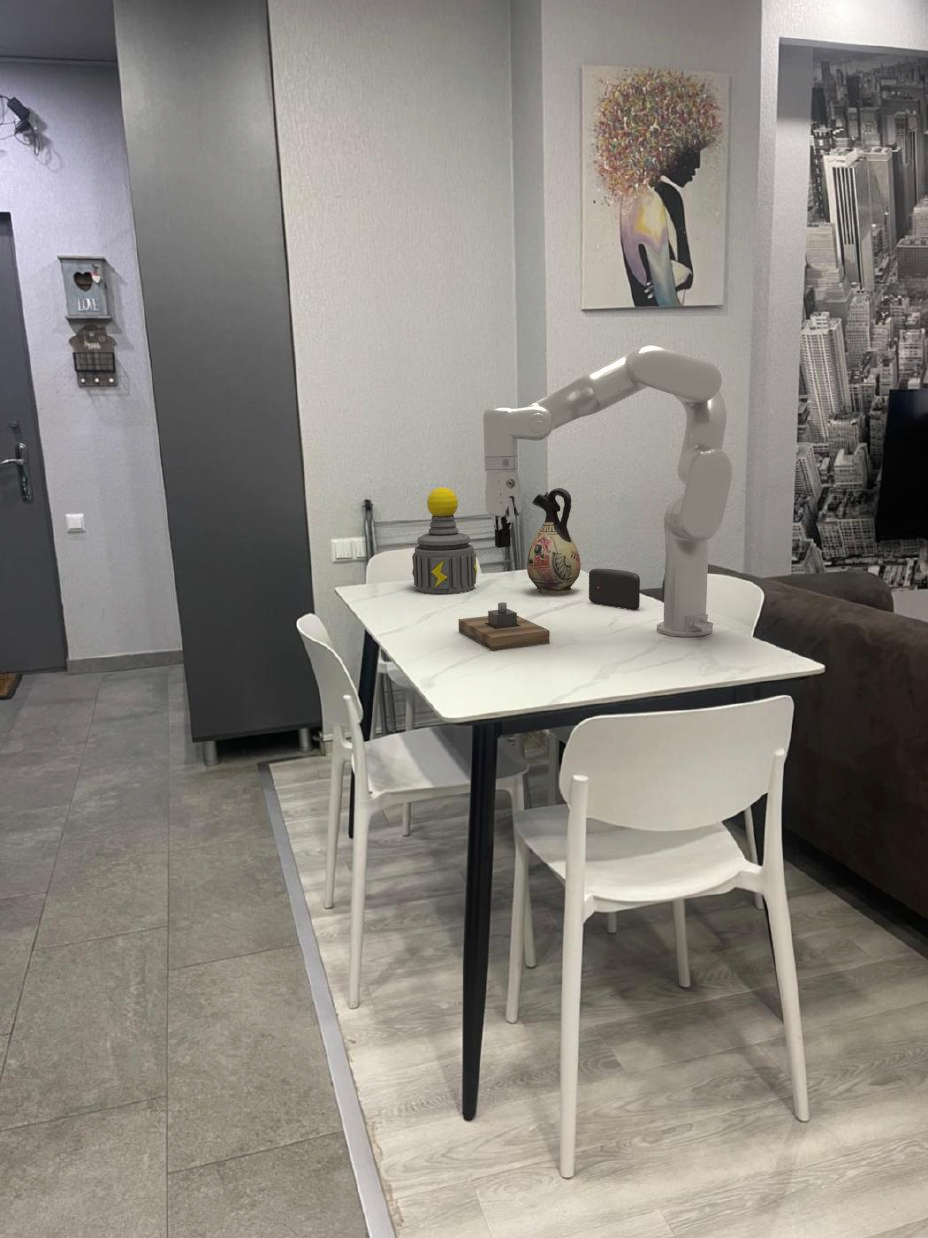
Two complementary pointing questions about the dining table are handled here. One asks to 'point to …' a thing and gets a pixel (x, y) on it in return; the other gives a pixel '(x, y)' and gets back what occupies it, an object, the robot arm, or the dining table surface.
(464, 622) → the socket board
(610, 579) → the rounded red-dot block
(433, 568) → the decorative lamp
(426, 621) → the dining table surface
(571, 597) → the dining table surface
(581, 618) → the dining table surface
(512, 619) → the plug
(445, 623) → the dining table surface
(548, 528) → the ceramic jug
